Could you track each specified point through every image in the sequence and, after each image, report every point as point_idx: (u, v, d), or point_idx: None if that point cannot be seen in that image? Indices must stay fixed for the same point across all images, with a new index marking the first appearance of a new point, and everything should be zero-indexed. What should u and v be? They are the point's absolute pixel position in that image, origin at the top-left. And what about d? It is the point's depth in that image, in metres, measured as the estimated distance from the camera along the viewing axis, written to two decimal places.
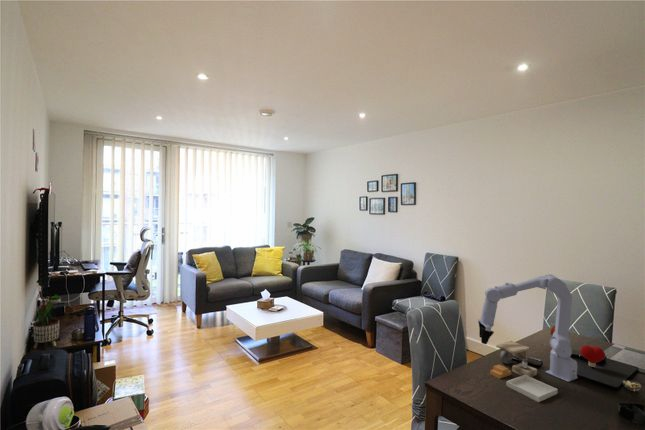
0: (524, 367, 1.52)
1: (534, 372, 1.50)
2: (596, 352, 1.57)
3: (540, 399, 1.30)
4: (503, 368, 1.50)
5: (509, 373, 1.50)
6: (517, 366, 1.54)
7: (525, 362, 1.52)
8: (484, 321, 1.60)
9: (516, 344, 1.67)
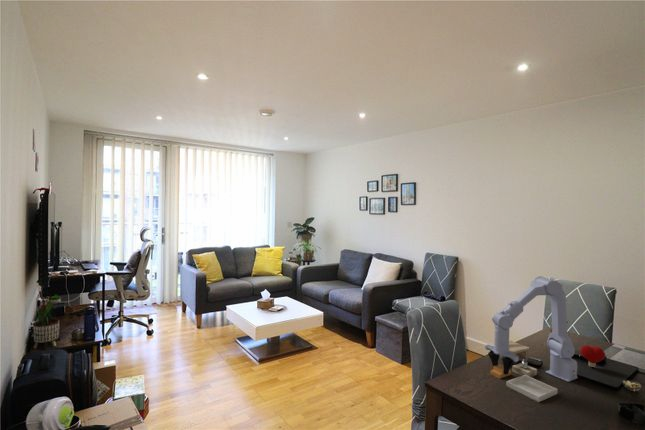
0: (524, 367, 1.52)
1: (534, 372, 1.50)
2: (596, 352, 1.57)
3: (540, 399, 1.30)
4: (503, 368, 1.50)
5: (509, 373, 1.50)
6: (517, 366, 1.54)
7: (525, 362, 1.52)
8: (504, 351, 1.48)
9: (516, 344, 1.67)
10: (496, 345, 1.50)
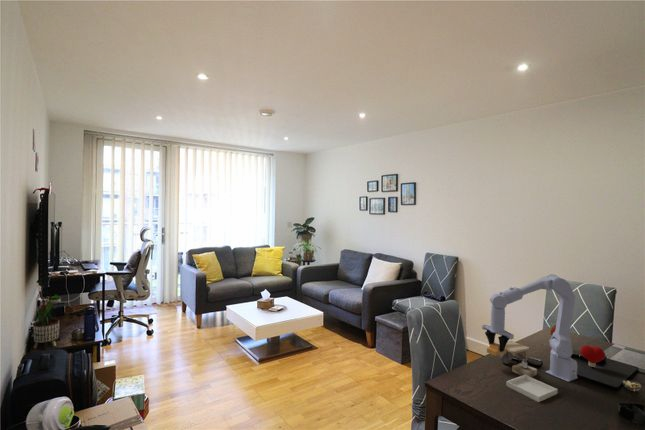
0: (524, 367, 1.52)
1: (534, 372, 1.50)
2: (596, 352, 1.57)
3: (540, 399, 1.30)
4: (499, 346, 1.58)
5: (505, 350, 1.58)
6: (517, 366, 1.54)
7: (525, 362, 1.52)
8: (500, 330, 1.56)
9: (516, 344, 1.67)
10: (492, 324, 1.58)
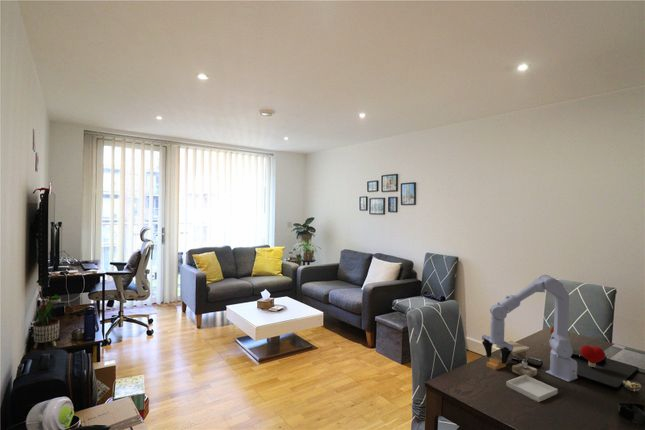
0: (524, 367, 1.52)
1: (534, 372, 1.50)
2: (596, 352, 1.57)
3: (540, 399, 1.30)
4: (498, 360, 1.58)
5: (504, 365, 1.58)
6: (517, 366, 1.54)
7: (525, 362, 1.52)
8: (500, 341, 1.56)
9: (516, 344, 1.67)
10: (492, 335, 1.58)
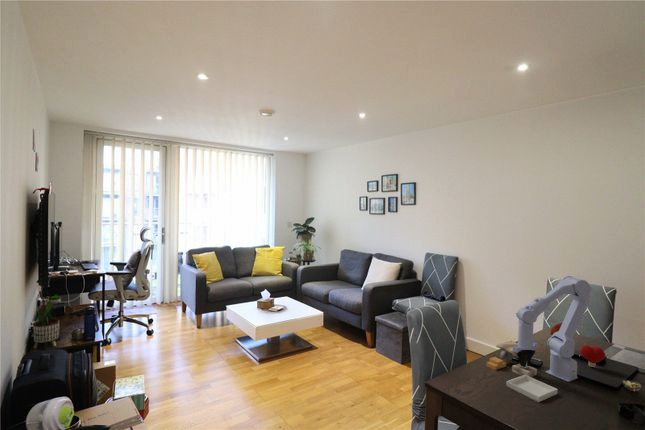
0: (524, 367, 1.52)
1: (534, 372, 1.50)
2: (596, 352, 1.57)
3: (540, 399, 1.30)
4: (498, 360, 1.58)
5: (504, 365, 1.58)
6: (517, 366, 1.54)
7: None
8: None
9: (516, 344, 1.67)
10: (530, 341, 1.50)
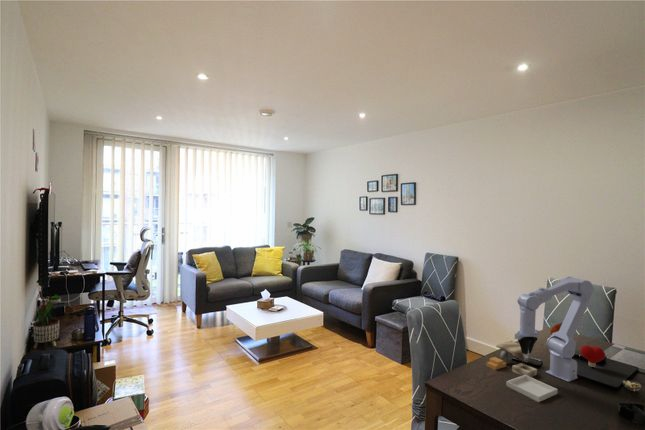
0: None
1: (534, 372, 1.50)
2: (596, 352, 1.57)
3: (540, 399, 1.30)
4: (498, 360, 1.58)
5: (504, 365, 1.58)
6: (517, 366, 1.54)
7: None
8: None
9: (516, 344, 1.67)
10: (533, 328, 1.46)
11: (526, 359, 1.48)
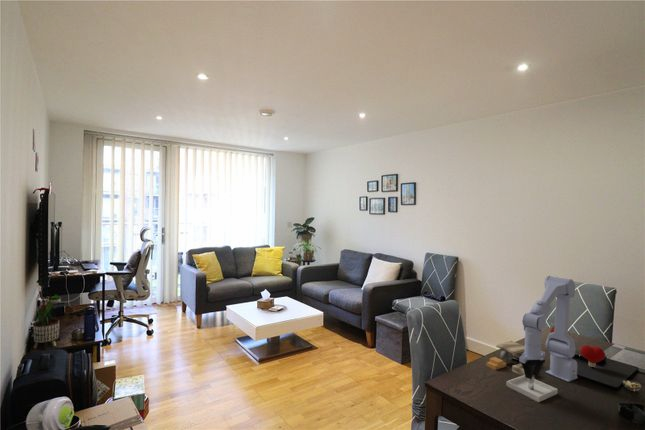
0: (531, 382, 1.37)
1: None
2: (596, 352, 1.57)
3: (540, 399, 1.30)
4: (498, 360, 1.58)
5: (504, 365, 1.58)
6: (517, 366, 1.54)
7: (532, 377, 1.37)
8: None
9: (516, 344, 1.67)
10: (539, 350, 1.35)
11: (531, 387, 1.37)
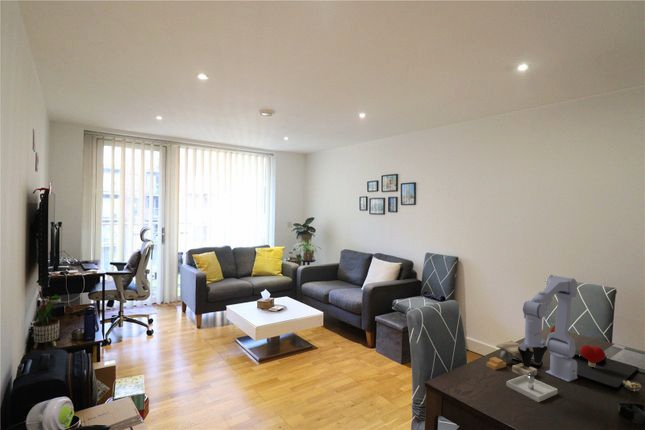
0: (530, 382, 1.37)
1: (534, 372, 1.50)
2: (596, 352, 1.57)
3: (540, 399, 1.30)
4: (498, 360, 1.58)
5: (504, 365, 1.58)
6: (517, 366, 1.54)
7: (532, 377, 1.37)
8: None
9: (516, 344, 1.67)
10: (539, 338, 1.35)
11: (531, 387, 1.37)
